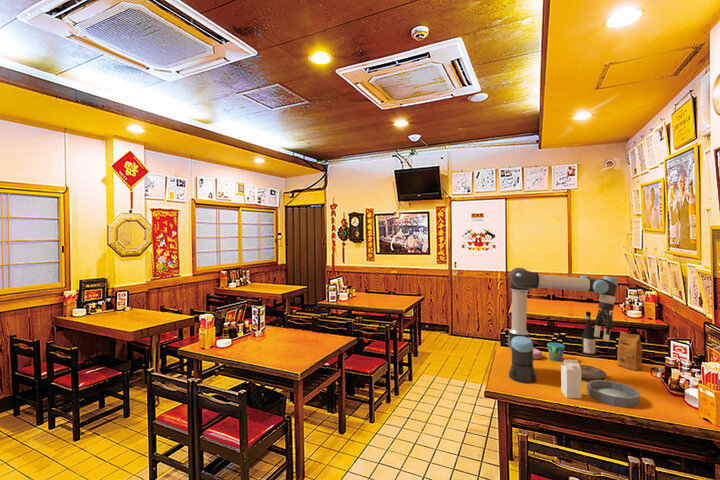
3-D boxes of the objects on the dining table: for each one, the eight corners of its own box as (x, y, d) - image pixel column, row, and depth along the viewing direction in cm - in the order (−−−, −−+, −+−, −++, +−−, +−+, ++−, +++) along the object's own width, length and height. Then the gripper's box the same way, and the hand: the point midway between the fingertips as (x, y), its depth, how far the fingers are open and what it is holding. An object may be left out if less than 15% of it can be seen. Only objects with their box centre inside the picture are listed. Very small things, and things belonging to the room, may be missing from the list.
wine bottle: (596, 356, 249) (596, 313, 249) (583, 355, 252) (583, 312, 252) (593, 352, 257) (593, 311, 257) (581, 351, 260) (580, 310, 259)
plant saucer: (590, 385, 202) (590, 379, 202) (558, 372, 221) (558, 367, 221) (614, 379, 210) (614, 373, 210) (581, 367, 229) (581, 362, 229)
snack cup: (551, 354, 253) (551, 340, 253) (568, 358, 246) (568, 343, 246) (543, 360, 243) (543, 345, 242) (560, 364, 235) (560, 348, 235)
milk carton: (561, 392, 193) (560, 357, 193) (575, 392, 192) (574, 357, 192) (567, 398, 186) (566, 361, 186) (581, 398, 185) (581, 362, 185)
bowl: (596, 404, 179) (595, 395, 179) (582, 386, 200) (581, 378, 200) (647, 409, 173) (647, 400, 173) (627, 390, 194) (627, 382, 194)
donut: (545, 360, 242) (544, 353, 242) (524, 359, 245) (524, 352, 245) (538, 354, 256) (538, 347, 256) (518, 353, 258) (518, 346, 258)
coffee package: (623, 362, 236) (623, 329, 236) (645, 369, 224) (644, 334, 224) (614, 365, 232) (613, 331, 231) (635, 371, 220) (635, 336, 220)
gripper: (623, 305, 198) (617, 343, 197) (605, 303, 222) (599, 336, 221) (608, 302, 200) (602, 340, 199) (591, 300, 224) (586, 333, 223)
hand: (601, 338), depth 210 cm, fingers open, 13 cm apart
